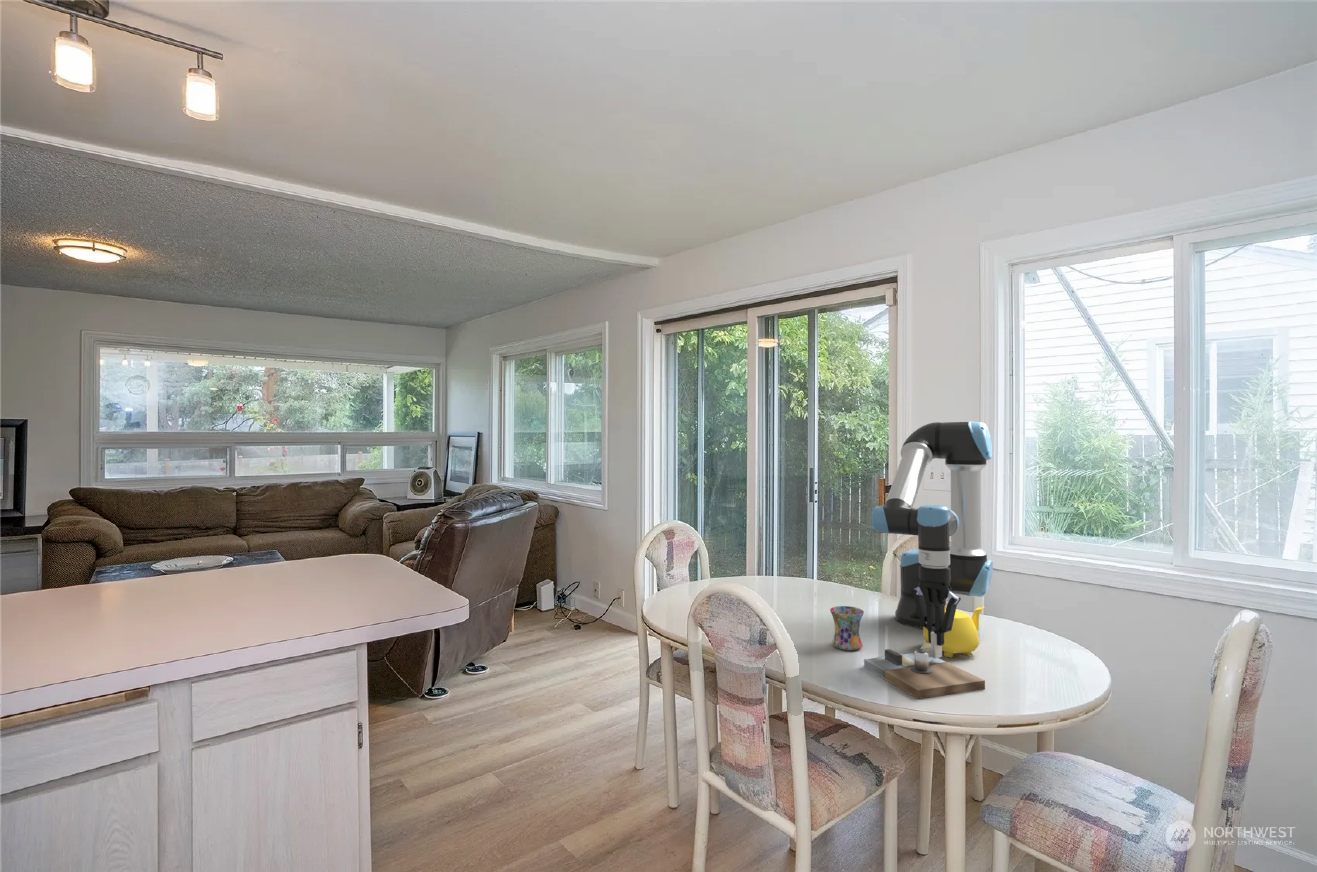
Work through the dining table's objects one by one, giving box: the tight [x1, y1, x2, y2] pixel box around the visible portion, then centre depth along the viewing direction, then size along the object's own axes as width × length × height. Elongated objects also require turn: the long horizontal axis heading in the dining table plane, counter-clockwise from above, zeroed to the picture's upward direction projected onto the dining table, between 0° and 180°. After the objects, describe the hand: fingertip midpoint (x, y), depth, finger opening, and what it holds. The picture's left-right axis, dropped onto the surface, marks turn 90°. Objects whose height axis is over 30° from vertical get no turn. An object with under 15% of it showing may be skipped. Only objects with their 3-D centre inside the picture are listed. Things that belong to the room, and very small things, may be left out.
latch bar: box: [913, 642, 933, 670], centre depth 162 cm, size 13×3×4 cm, turn 148°
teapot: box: [922, 605, 985, 658], centre depth 178 cm, size 13×20×12 cm
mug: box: [829, 605, 865, 651], centre depth 183 cm, size 12×9×11 cm
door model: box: [863, 648, 986, 700], centre depth 159 cm, size 19×21×4 cm
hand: (936, 656), depth 163 cm, fingers closed
